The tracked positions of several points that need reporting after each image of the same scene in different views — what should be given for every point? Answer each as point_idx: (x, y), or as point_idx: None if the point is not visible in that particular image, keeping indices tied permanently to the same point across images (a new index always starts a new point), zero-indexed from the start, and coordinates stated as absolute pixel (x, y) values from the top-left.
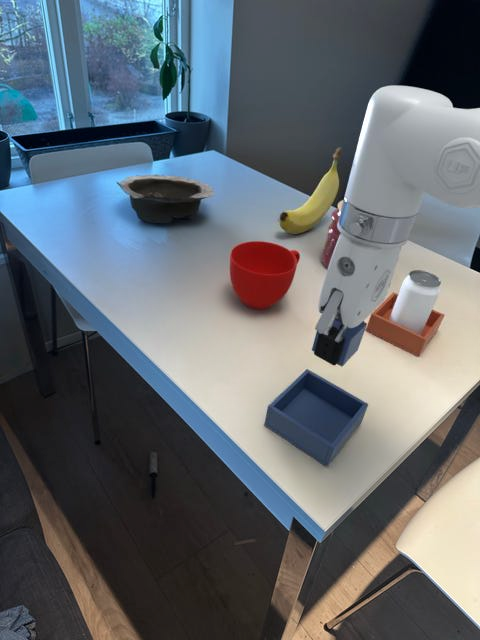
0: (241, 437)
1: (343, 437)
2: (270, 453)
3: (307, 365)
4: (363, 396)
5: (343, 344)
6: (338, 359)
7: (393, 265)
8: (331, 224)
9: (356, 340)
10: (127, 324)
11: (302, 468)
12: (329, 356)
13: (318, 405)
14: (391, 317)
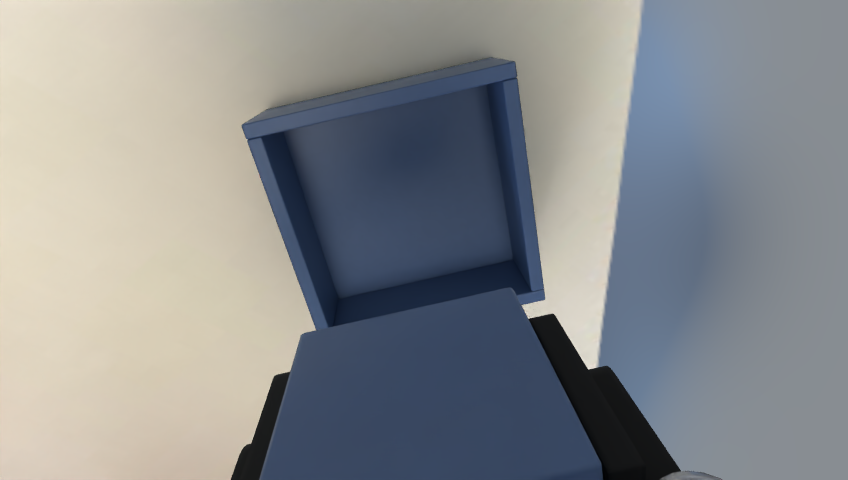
0: (595, 262)
1: (440, 77)
2: (577, 186)
3: (255, 354)
4: (174, 179)
5: (602, 436)
6: (552, 337)
7: None
8: None
9: (411, 414)
10: None
11: (549, 99)
12: (619, 382)
13: (349, 230)
14: None
